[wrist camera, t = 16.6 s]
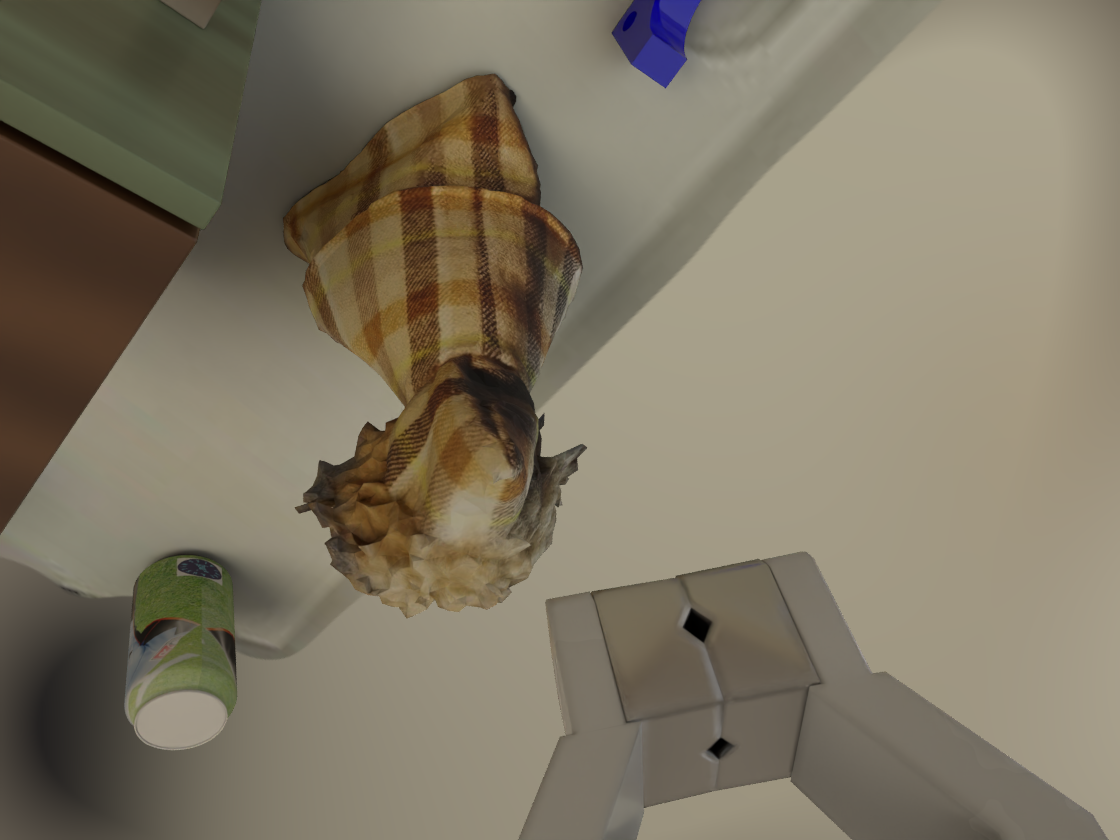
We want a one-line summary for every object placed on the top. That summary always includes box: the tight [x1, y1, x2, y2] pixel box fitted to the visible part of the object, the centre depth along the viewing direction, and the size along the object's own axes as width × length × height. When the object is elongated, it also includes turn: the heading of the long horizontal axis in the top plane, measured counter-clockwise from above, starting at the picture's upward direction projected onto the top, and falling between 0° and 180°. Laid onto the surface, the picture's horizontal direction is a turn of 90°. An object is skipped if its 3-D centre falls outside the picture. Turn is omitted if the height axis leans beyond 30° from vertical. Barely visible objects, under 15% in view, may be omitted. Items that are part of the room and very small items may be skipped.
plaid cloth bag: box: [283, 74, 587, 618], centre depth 39 cm, size 14×14×25 cm
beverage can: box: [124, 555, 237, 750], centre depth 57 cm, size 6×7×12 cm
